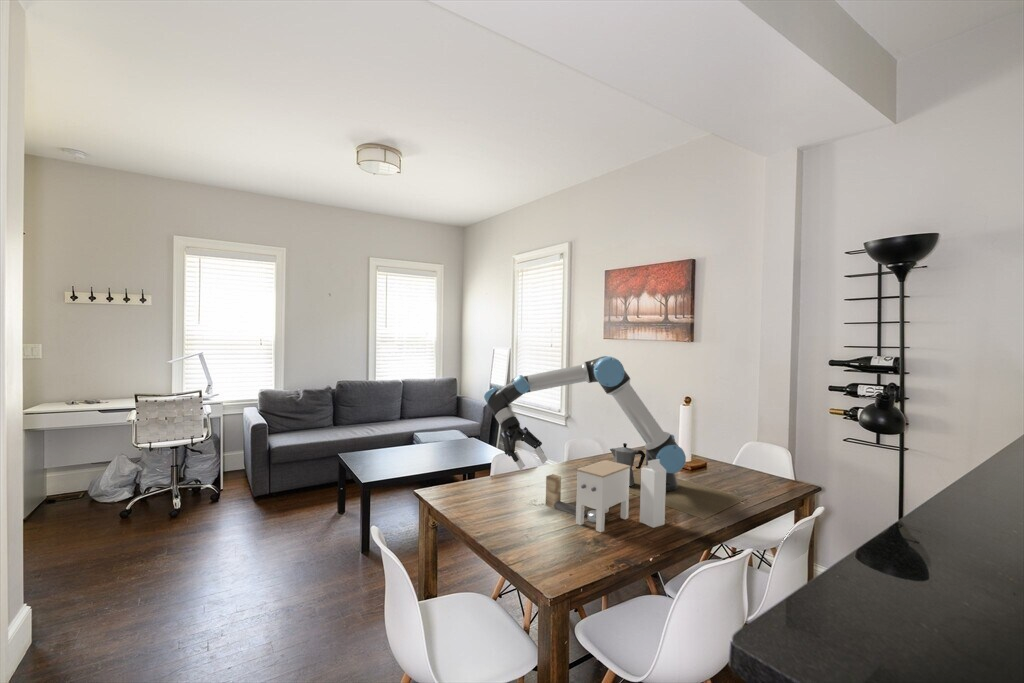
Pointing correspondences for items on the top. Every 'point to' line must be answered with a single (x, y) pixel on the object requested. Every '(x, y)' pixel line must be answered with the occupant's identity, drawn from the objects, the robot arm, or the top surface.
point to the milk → (653, 494)
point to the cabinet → (602, 490)
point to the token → (591, 516)
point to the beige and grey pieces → (557, 495)
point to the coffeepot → (628, 458)
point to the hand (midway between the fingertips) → (534, 464)
